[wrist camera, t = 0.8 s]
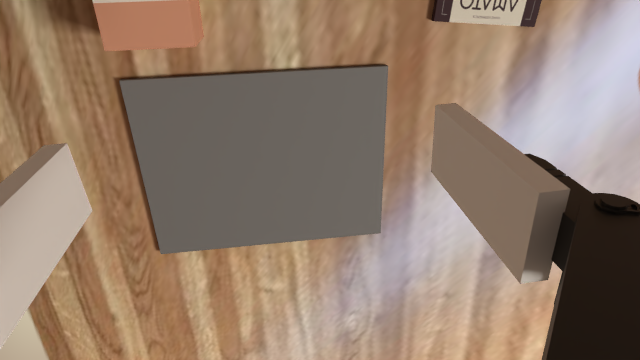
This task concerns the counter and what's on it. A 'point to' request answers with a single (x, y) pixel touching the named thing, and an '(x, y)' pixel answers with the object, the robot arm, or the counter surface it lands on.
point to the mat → (260, 155)
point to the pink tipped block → (148, 24)
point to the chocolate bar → (487, 11)
